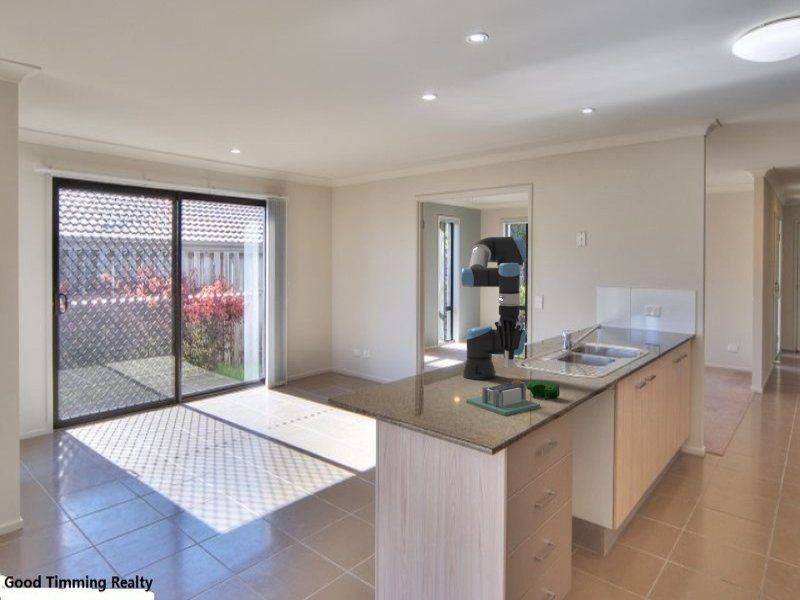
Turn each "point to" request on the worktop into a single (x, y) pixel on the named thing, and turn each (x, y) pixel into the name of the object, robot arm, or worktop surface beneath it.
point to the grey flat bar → (507, 386)
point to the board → (504, 408)
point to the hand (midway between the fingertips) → (508, 367)
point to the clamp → (543, 389)
